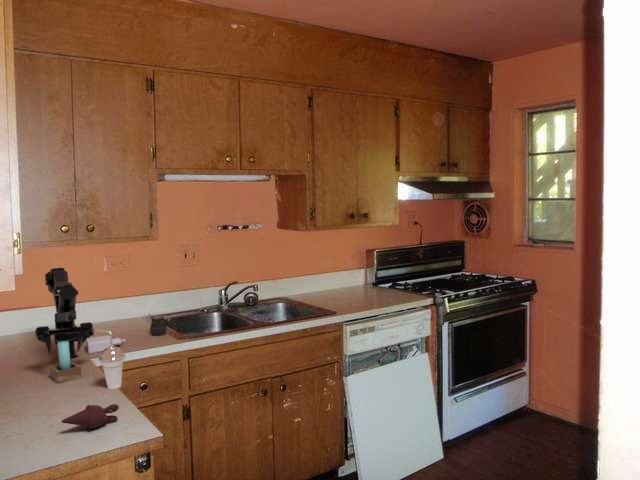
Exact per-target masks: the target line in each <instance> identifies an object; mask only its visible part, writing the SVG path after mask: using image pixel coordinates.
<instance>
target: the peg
mask: <svg viewBox="0 0 640 480" xmlns="http://www.w3.org/2000/svg"><path fill="white" fill-rule="evenodd" d="M57 351H58V355H59V358H58V365H59V366H60V371H61V370H65V369H69V368H71V362H72V361H71V358H70V350H69V341H61V342H58V345H57Z"/></svg>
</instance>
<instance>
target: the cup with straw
mask: <svg viewBox="0 0 640 480" xmlns="http://www.w3.org/2000/svg"><path fill="white" fill-rule="evenodd" d="M95 332H102V333H107V334H109V336H110V344H111V347H108V348H106V349H105V350H104V351H103V352H101V355H100V356H99V358H98V361H99V363H101V366H102V370H103V373H104V379H105V384H106V386H107V389H108V390H109V389H110V390H116V389H119V388H121V387H122V382H123V381H122V380H123V366H124V360H125V358H126V354H125V353H124V352H123V351H122V349H121V348H119V347H118V346H116V345H114V346H113V341H112V339H113V332H112V331H111V330H106V329H101V328H96V329H95Z"/></svg>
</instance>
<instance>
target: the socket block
mask: <svg viewBox="0 0 640 480" xmlns="http://www.w3.org/2000/svg"><path fill="white" fill-rule="evenodd" d="M70 362H71V368H69V369H65V370H61V371H60V366H59V364H57V365H53V366H50V367H49V374H50V379H51V380H53V381H54V382H55V383H56V384H58V385H59V384H62V383H66V382H69V381H74V380H78V379H81V378H82V377H83V376H82V375H83V374H82V366H81V365H79V364H77V363H76V362H75V361H70Z"/></svg>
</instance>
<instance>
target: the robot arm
mask: <svg viewBox="0 0 640 480" xmlns="http://www.w3.org/2000/svg"><path fill="white" fill-rule="evenodd" d="M44 284H45V286H47V290H48V291H49V292H50V293H51V294H52V297H53V301H54V306H55V312H56V313H54V323H55V324H54V327H55V328H53V329H50V328H49V326H48V325H46V326H45V325H44V326H37V327H36V328H35V333H34V334H35V336H36V338H37V341H40V342H41V343H45V345H46V348H47V351H48V354H49V355H51V353H52V339H51V337H52V336H53V343H54V345H55V346H58V342H61V341H69V350H70V359H74V358H78V357H79V354H77V353H76V350H77V352H79V351H80V350H81V348H82V346H83V345H84V343H85V342H86V339H87V338H91V337H94V335H95V329H94V325H93V322H89V321H88V322H81V323H80V326H77V325H76V320H77V310H76V303H77V296H78V295H79V291H78V289H76V287H74V285H73V283H72V282H70V281H69V274H68V271H66V270H65V268H64V267H54V268H50V271H48V272H46V273H45V275H44ZM76 342H77V345H76V349H75V343H76ZM56 358H57V359H59V354H58V355H56Z"/></svg>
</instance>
